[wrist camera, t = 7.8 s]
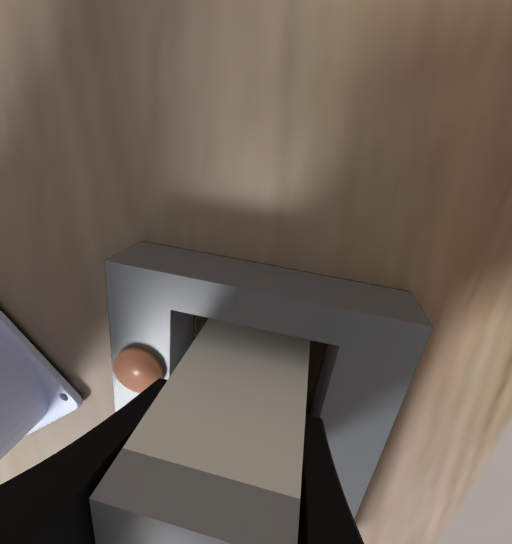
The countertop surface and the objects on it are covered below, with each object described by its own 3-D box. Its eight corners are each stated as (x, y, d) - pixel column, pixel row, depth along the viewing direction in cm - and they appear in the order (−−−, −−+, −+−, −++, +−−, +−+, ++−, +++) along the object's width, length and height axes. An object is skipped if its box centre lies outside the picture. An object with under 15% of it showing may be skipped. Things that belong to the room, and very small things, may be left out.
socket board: (141, 241, 13) (98, 263, 11) (411, 292, 12) (436, 331, 9) (147, 484, 19) (120, 535, 17) (323, 537, 18) (323, 602, 15)
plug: (212, 312, 14) (89, 498, 7) (310, 333, 13) (296, 563, 6) (206, 388, 16) (103, 601, 8) (293, 410, 15) (265, 660, 8)
